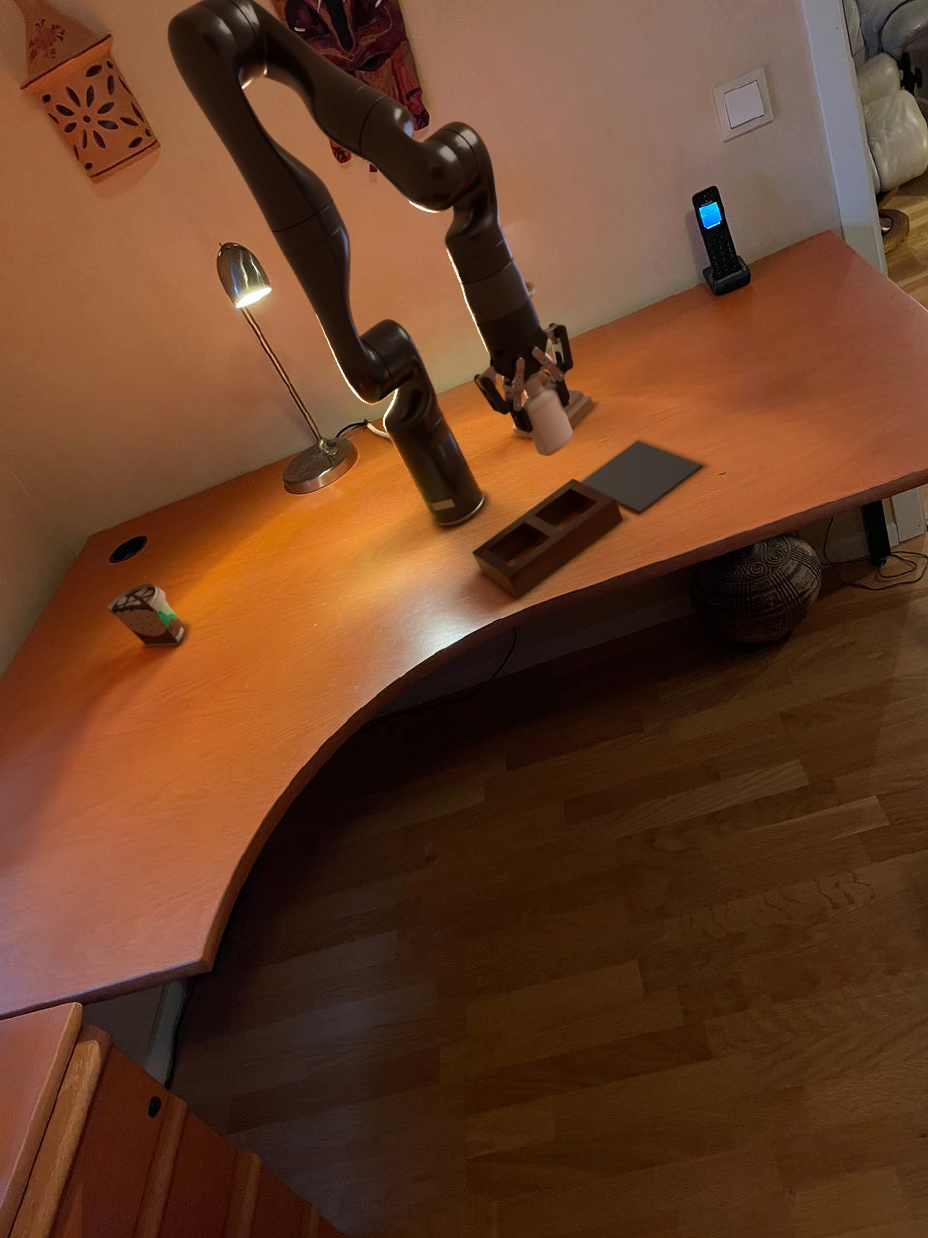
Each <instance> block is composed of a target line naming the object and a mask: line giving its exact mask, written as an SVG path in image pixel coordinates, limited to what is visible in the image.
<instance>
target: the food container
mask: <svg viewBox="0 0 928 1238" xmlns="http://www.w3.org/2000/svg"><path fill="white" fill-rule="evenodd" d="M166 598H167V597H166V593H165V591H164V590H163V589H161V588H160V587H159V586H157V585H156V584H153V583H150V582H145V583H141V584H138V585H135V586H133V587H131V588H129V589H127V590H125V591H124V592H123V593H121V594H120V595H118V596H117V597H116V598H114V599H113V600H112V601H111V602H110V603H109V604H108V605H107V608H108V611H109V612H110V614H111V615H112V616H115V617H117V619H118V620H120V621H121V622H122V624H123V625H124V626H126V628H128V629H129V630H130V631H131V632H132V633H133V634H134V635H135V636H136V637H137V638H138V639H139V640H140V641H141V642H142V643H143V644H144V645H145V646H179V645H181V644H182V643H183V641H184V640H185V637H186V635H187V628H186V626H184V624H183V623H182V621H181V620H180V619H179V617H178V616H177V614H176V613H175V612H174V611H173V609H172V607H171V606H170V604H169V603H168V601H167V600H166Z"/></svg>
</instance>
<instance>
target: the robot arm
mask: <svg viewBox="0 0 928 1238" xmlns="http://www.w3.org/2000/svg"><path fill="white" fill-rule="evenodd" d="M166 33H167V42H168V48H169V51H170V54H171V57H172V59H173V63H174V64H175V66H176V69H177V71H178V73H179V74H180V76H181V78H182V80H183V82H184V84H185V85H186V88H187V89H188V91H189V92H190V94H191V95H192V98H193V99H194V100H195V102H196V104H197V105H198V107H199V108H200V110H201V112H202V113H203V114H204V116H205V118H206V119H207V121H208V123H209V124H210V125H211V127H212V129H213V130H214V132H215V133H216V135H217V136H218V138H219V139H220V141H221V143H222V144H223V146H224V147H225V149H226V150H227V152H228V154H229V155H230V157H231V159H232V160H233V163H234V164H235V166H236V168H237V169H238V171H239V174H240V176H242V178H243V180H244V182H245V185H246V186H247V187H248V189H249V191H250V193H251V195H252V196H253V199H254V200H255V202H256V204H257V206H258V208H259V210H260V212H261V214H262V215H263V218H264V220H265V222H266V225H267V226H268V228H269V230H270V232H271V234H272V236H273V238H274V240H275V241H276V243H277V245H278V247H279V249H280V251H281V253H282V255H283V256H284V258H285V260H286V262H287V263H288V265H289V267H290V268H291V270H292V273H293V274H294V276H295V277H296V279H297V281H298V283H299V285H300V286H301V288H302V290H303V292H304V294H305V296H306V298H307V299H308V302H309V304H310V305H311V307H312V309H313V311H314V313H315V316H316V318H317V320H318V322H319V324H320V326H321V329H322V331H323V334H324V336H325V339H326V340H327V343H328V345H329V348H330V349H331V352H332V354H333V356H334V358H335V361H336V363H337V365H338V367H339V369H340V371H341V374H342V375H343V377H344V379H345V381H346V383H347V385H348V386H349V387H350V389H351V390H352V392H353V393H354V394H355V395H356V397H357V398H358V399H360V400H361V401H362V402H364V403H365V404H368V405H376V404H378V403H380V402H382V401H383V400H385V399H386V398H387V397H389V396H390V395H392V394H393V393H394V392H395V393H394V397H393V400H392V401H391V403H390V406H389V407H388V409H387V411H386V413H385V414H384V417H383V421H382V423H383V424H382V425H383V427H384V429H385V431H386V432H384V431H382V430H379V429H377V428H376V427H374V426H373V425H372V424H371V423H370V421H369V420H368V419H367V418H363V423H364V424H365V425H366V426H367V427H368V429H369V430H370V431H371V432H373V433H374V434H376V435H378V436H380V437H384V438H387V439H389V440H390V441H391V442H392V444H393V446H394V448H395V450H396V452H397V454H398V456H399V457H400V460H401V461H402V463H403V464H404V466H405V468H406V470H407V472H408V474H409V475H410V478H411V480H412V481H413V483H414V485H415V487H416V488H417V490H418V492H419V494H420V496H421V498H422V499H423V501H424V503H425V505H426V507H427V509H428V510H429V513H430V514H431V516H432V519H433V521H434V523H435V524H436V525H438V526H439V527H444V528H445V527H447V528H448V527H453V526H457V525H460V524H462V523H465V522H467V521H468V520H470V519H472V518H473V517H474V516H475V515H478V513H479V512H481V509H482V508H483V507H484V504H485V501H486V498H485V495H484V493H483V491H482V490H481V488H480V486H479V483H478V482H477V480H476V477H475V476H474V473H473V471H472V469H471V467H470V465H469V463H468V461H467V459H466V457H465V455H464V453H463V451H462V448H461V447H460V444H459V443H458V440H457V439H456V437H455V435H454V433H453V431H452V428H451V427H450V425H449V423H448V420H447V419H446V417H445V414H444V412H443V409H442V408H441V406H440V404H439V398H438V395H437V392H436V389H435V387H434V385H433V383H432V380H431V378H430V375H429V373H428V371H427V368H426V365H425V363H424V361H423V359H422V355H421V353H420V351H419V349H418V347H417V345H416V343H415V341H414V339H413V338H412V337H411V335H410V333H409V332H408V331H407V330H406V328H405V327H404V326H403V325H402V324H401V323H399V322H397V321H396V320H394V319H390V318H386V319H382V320H380V321H378V322H377V323H375V324H374V325H372V326H371V327H370V328H369V329H367V330H366V331H365V332H363V333H362V334H360V335H359V331H358V330H357V327H356V324H355V321H354V317H353V314H352V313H353V312H352V307H351V298H350V297H351V296H350V295H351V294H350V293H351V291H350V286H351V267H352V266H351V265H352V264H351V260H352V259H351V257H352V256H351V255H352V254H351V253H352V251H351V240H350V235H349V231H348V228H347V226H346V224H345V221H344V219H343V217H342V215H341V212H340V210H339V209H338V206H337V204H336V202H335V200H334V198H333V196H332V194H331V192H330V190H329V188H328V187H327V185H326V184H325V182H324V181H323V180H322V179H321V177H320V176H318V174H317V173H315V171H314V170H312V169H311V168H310V167H309V166H307V165H306V164H305V163H304V162H302V160H299V158H297V157H296V156H294V155H293V154H292V153H290V152H289V151H288V150H287V149H285V148H284V147H283V146H282V145H281V144H279V143H278V142H277V140H275V139H274V138H273V136H272V135H271V134H270V133H269V132H268V131H267V129H266V128H265V127H264V125H263V124H262V122H261V120H260V119H259V117H258V115H257V113H256V112H255V110H254V108H253V107H252V105H251V103H250V101H249V99H248V97H247V95H246V93H245V91H244V90H245V89H246V88H247V87H249V86H251V85H252V84H254V83H255V82H257V81H258V80H260V79H261V78H265V79H268V80H271V81H274V82H277V83H279V84H281V85H283V86H286V87H288V88H289V89H290V90H292V91H293V92H294V93H295V94H296V95H297V97H299V98H300V100H301V102H302V103H303V104H304V106H305V108H306V110H307V112H308V114H309V115H310V117H311V119H312V121H313V122H314V124H315V125H316V126H317V128H318V129H319V130H320V131H321V133H322V134H323V135H324V136H325V137H327V139H329V140H330V141H331V142H332V143H334V144H335V145H337V146H338V147H340V148H342V149H343V150H344V151H347V152H349V153H350V154H352V155H354V156H355V157H357V158H359V159H360V160H362V161H365V162H366V163H368V164H370V165H372V166H373V167H375V168H376V170H378V172H379V173H380V174H381V175H382V177H384V178H385V179H386V180H387V181H388V183H390V184H391V185H392V186H393V188H394V189H396V190H397V191H398V192H399V194H400V195H401V196H402V197H403V198H405V199H406V201H407V202H409V203H410V204H411V205H412V206H414V207H416V208H417V209H419V210H422V211H425V212H429V213H442V212H446V211H448V210H449V209H451V208H452V213H453V216H452V221H451V223H450V225H449V227H448V229H447V231H446V232H445V234H444V247H445V249H446V253H447V255H448V257H449V260H450V262H451V265H452V267H453V269H454V272H455V274H456V277H457V279H458V281H459V284H460V286H461V289H462V290H461V291H462V293H463V298H464V300H465V303H466V305H467V308H468V310H469V312H470V314H471V317H472V319H473V323H474V325H475V327H476V329H477V331H478V334H479V336H480V338H481V341H482V342H483V345H484V348H485V351H487V353H488V356H489V367H487V368H486V369H485V371H483V372H482V373H481V374H480V373H476V374H475V375H474V377H473V382H474V383H475V385H476V387H477V388H478V390H479V391H480V392H481V394H482V395H483V397H484V398H485V400H486V401H487V403H488V405H489V406H490V407H491V409H492V410H493V411H494V412H496V413H499V414H501V415H504V416H506V415H508V414H510V416H511V418H512V421H513V424H514V425H515V426H516V427H517V428H518V429H519V430H521V431H524V432H526V433H530V432H531V431H533V428H532V425H531V423H530V421H529V418H528V416H527V413H526V411H525V409H524V408H523V407H522V404H523V403H522V401H523V400H522V394H523V393H524V381H526V380H527V379H528V378H529V377H530V376H531V375H532V374H535V373H537V372H539V371H542V372H543V373H544V374H545V375H546V376H547V377H548V378H550V381H548V382H549V384H550V387H552V388H554V389H556V390H557V392H558V395H559V397H560V400H561V402H562V405H563V407H566V406H568V405H569V401H568V400H569V399H570V394H569V391H568V390H569V388H568V386H567V383H566V380H565V375H566V373H567V372H568V371H571V370H572V369H573V367H574V361H573V355H572V351H571V346H570V340H569V335H568V329H567V326H566V325H564V324H560V323H555V322H550V324H549V325H548V327H547V328H545V329H543V328H542V326H541V321H540V318H539V316H538V314H537V310H536V308H535V306H534V303H533V299H531V297H530V295H529V292H528V289H527V284H526V282H527V281H526V280H525V278H524V277H523V274H522V272H521V270H520V267H519V265H518V264H517V262H516V260H515V258H514V256H513V253H512V250H511V247H510V245H509V242H508V240H507V237H506V234H505V232H504V230H503V227H502V224H501V221H500V219H501V218H500V209H499V200H498V193H497V187H496V186H497V185H496V181H495V180H496V179H495V173H494V167H493V163H492V158H491V155H490V151H489V150H488V148H487V147H488V146H486V143H485V142H484V140H483V138H482V136H480V134H479V133H478V132H477V131H476V129H474V128H473V127H472V126H471V125H469V124H468V123H465V122H463V121H457V120H456V121H450V122H448V123H446V124H444V125H443V126H441V127H439V128H438V129H437V130H436V131H434V133H432V134H431V135H430V136H427V138H425V139H424V140H423V141H418V140H415V139H414V135H415V134H414V133H415V122H414V118H413V115H412V114H411V112H410V111H409V109H408V108H407V107H406V106H404V105H403V103H401V102H399V101H397V99H394V98H392V97H390V96H389V95H387V94H386V93H384V92H381V91H380V90H378V89H376V88H374V87H373V86H370V85H369V84H367V83H365V82H363V81H362V80H360V79H358V78H356V77H354V76H353V75H351V74H349V73H348V72H346V71H345V70H343V69H342V68H340V67H339V66H337V65H336V64H335V63H333V62H331V61H330V60H329V59H327V58H326V57H325V56H324V55H322V54H321V53H320V52H319V51H317V49H315V48H314V47H313V46H311V45H310V44H309V43H308V42H307V41H305V39H303V38H302V37H301V36H299V35H298V33H296V32H294V31H293V30H292V29H290V28H289V27H288V26H287V25H286V24H284V23H283V22H282V21H281V20H280V19H278V18H277V17H276V16H275V15H273V14H272V13H271V12H270V11H269V10H267V9H266V8H265V7H263V6H262V5H261V4H260V3H259V2H257V1H256V0H199V1H197V2H196V3H194V4H192V5H191V6H189V7H186V8H185V9H183V10H182V11H180V12H178V13H177V14H175V15H174V16H173V17H172V18H171V19H170V21H169V23H168V25H167V32H166ZM548 342H549V343H550V344H551V347H552V353H553V358H554V363H553V362H552V361H551V360H550V359H549V358H548V357H547V356H546V355H545V352H547V346H548ZM497 374H498V375H500V376H501V377H502V379H501V380H502V381H501V383H502V390H503V391H504V395H503V396H504V398H503V397H502V395H501V393H500V391H499V390H498V388H497V385H498V382H497V379H496V375H497Z"/></svg>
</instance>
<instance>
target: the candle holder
mask: <svg viewBox="0 0 928 1238" xmlns="http://www.w3.org/2000/svg"><path fill="white" fill-rule="evenodd" d="M525 282H526V284H527V289H528V292H529V295H530V297H531V300H533V298H534V297H535V294H536V291H537V288H536V286H535V283H533V282H530V281H525ZM545 355H546V356H547V357H548V358H549V359H550V360H551V361H552V362H553V363H554V364H555V360H554V359H553V357H552V356H551V355H550V354H549V353H548V352H547V351H546V352H545ZM535 374H538V375H539V377H540V380H541V382H542V385H543V387H550V384H549V382H548V381H550V378H548V377H547V376H546V375H545V374H544V373H543V372H542V371H539V372H537V373H535ZM568 391H569V394H570V399H569V400H568V401H569V405H568V406H566V407H564V410H565V412H566V415H567V418H568V420H569V423H570V426H571V428H573V427H574V426H575V425H576V424H578V422H580V420H582V418H584V416H585V415H587V413H589V411H591V410H592V408H593V407H594V406H595V404H594V403H593V400H592V397H591V396H590V395H585V394H584V392H583V391H581V390H575V389H574V390H573V389H568ZM523 393H524V397H525V398H526V397H527V395H526V392H525V390H524V391H523ZM511 428H512V429H511V430H512V432H513V434H514V436H515V437H518V438H524V439H532V437H531V435H530V433H526V432H524V431H521V430H519V429H518V428H517V427H516V426H515V424H513V425H512V427H511Z"/></svg>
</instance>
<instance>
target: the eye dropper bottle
mask: <svg viewBox="0 0 928 1238" xmlns="http://www.w3.org/2000/svg"><path fill="white" fill-rule="evenodd" d="M524 390H525V392H526V395H527V397H526V396H525V399H524V400H523V403H522V407H523V408H524V409H525V411H526V413H527V416H528V418H529V421H530V423H531V425H532V428H533V431H531V432H530V435H531V437H532V438H531V440H532V442H533V444H534V447H535V450H536V451H537V453H538V455H541V456H545V457H550V456H552V455H554V454H556V453H558V452H559V451H560V450H562V449H563V448H565V446H567V445H568V444H569V442H570V441H572V438H573V437H574V431H573V429H572V428H573V427H572V428H571V426H570V423H569V420H568V418H567V415H566V412H565V410H564V407H563V405H562V402H561V400H560V397H559V395H558V392H557V390H556V389H554V388H552V387H543V385H542V382H541V380H540V377H539V375H538V374H532V375H531V376H530V377H529V378H528V379H527V380H526V381H524Z"/></svg>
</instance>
